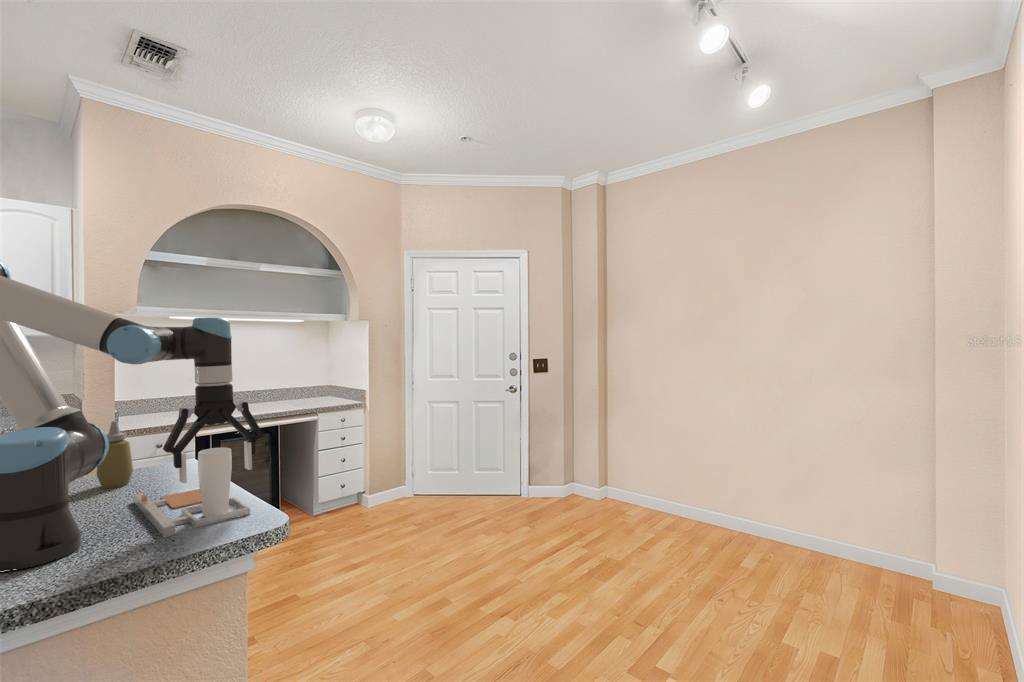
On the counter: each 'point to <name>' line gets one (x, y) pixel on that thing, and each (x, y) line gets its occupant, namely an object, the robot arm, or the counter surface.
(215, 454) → the drinking glass
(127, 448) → the squeeze bottle
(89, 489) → the counter surface
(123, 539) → the counter surface
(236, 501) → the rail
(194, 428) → the robot arm
